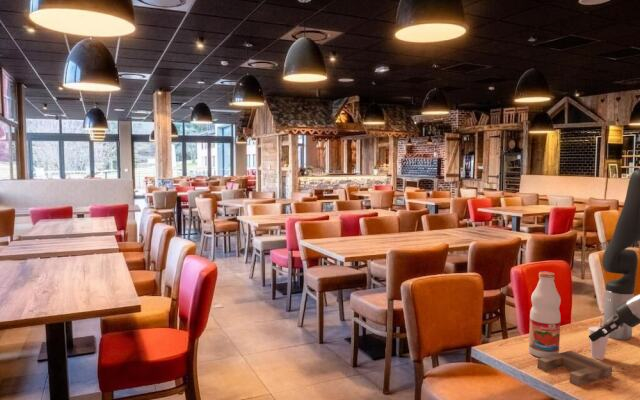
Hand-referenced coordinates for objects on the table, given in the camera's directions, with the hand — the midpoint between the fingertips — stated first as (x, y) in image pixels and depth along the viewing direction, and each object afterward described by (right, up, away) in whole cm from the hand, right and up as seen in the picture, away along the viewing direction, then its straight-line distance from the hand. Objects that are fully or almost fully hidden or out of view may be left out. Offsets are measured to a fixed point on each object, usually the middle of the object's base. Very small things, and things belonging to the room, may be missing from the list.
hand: (593, 336), depth 165 cm
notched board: (-13, -8, -12) cm, 20 cm away
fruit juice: (-16, -7, +2) cm, 18 cm away
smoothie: (+1, -7, 0) cm, 7 cm away
